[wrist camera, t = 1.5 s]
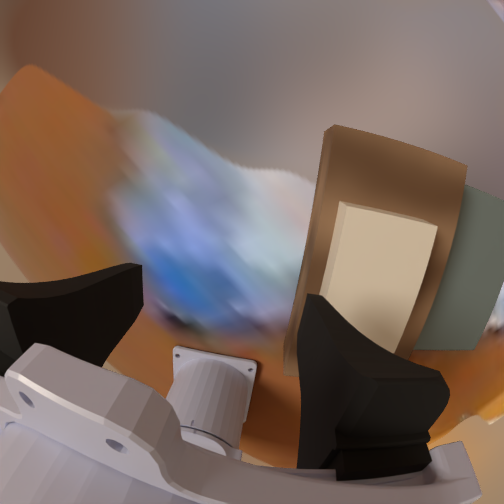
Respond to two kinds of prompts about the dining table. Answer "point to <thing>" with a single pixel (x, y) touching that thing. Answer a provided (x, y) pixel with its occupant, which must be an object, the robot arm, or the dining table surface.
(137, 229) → the dining table surface
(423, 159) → the panel
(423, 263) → the beige flat block
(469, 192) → the mat
